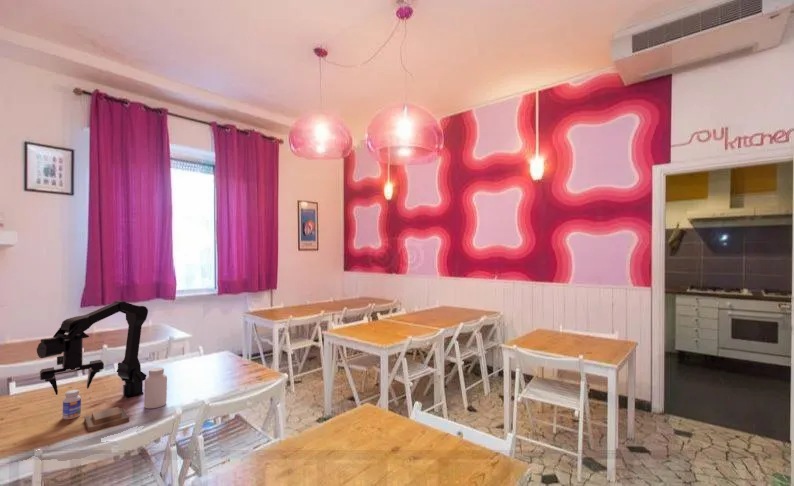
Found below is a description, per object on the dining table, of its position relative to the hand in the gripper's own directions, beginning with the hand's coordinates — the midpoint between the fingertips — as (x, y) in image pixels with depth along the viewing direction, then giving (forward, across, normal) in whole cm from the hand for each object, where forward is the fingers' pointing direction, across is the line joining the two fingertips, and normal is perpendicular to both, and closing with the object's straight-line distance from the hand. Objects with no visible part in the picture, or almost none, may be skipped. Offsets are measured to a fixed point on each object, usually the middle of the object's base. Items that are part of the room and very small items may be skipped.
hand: (72, 391), depth 150 cm
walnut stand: (+10, -9, +14) cm, 19 cm away
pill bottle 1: (+10, 0, 0) cm, 10 cm away
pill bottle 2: (+10, -26, +10) cm, 30 cm away
